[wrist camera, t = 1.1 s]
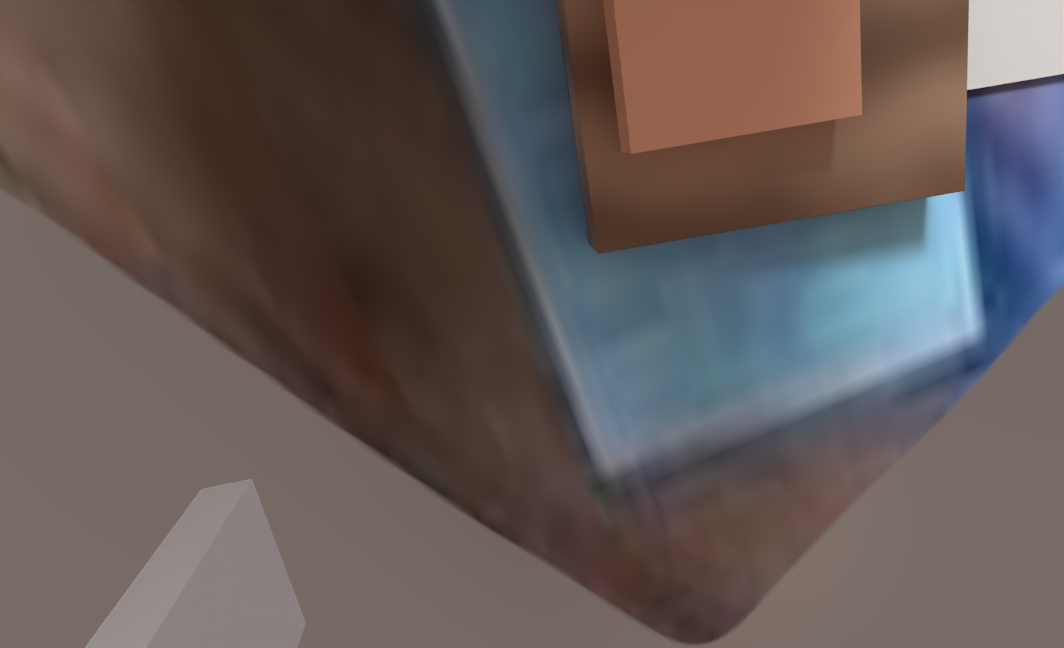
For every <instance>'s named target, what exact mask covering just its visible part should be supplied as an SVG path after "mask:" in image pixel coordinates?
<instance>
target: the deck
mask: <svg viewBox="0 0 1064 648" xmlns="http://www.w3.org/2000/svg"><path fill="white" fill-rule="evenodd" d="M556 4H557V12H558V19H559V26H560V33H561V41H562V48H563V55H564V62H565V70H566V77H567V84H568V91H569V99H570V106H571V113H572V120H573V128H574V135H575V142H576V150H577V157H578V164H579V171H580V179H581V186H582V193H583V200H584V208H585V215H586V222H587V229H588V237H589V244H590V245H591V246H592V247H593V248H594V250H595V251H596V252H597V253H598V254H599V253H605V252H610V251H616V250H622V249H628V248H634V247H639V246H645V245H651V244H657V243H663V242H669V241H674V240H680V239H686V238H692V237H698V236H704V235H709V234H715V233H721V232H727V231H733V230H739V229H744V228H750V227H756V226H762V225H768V224H774V223H779V222H785V221H791V220H797V219H803V218H809V217H814V216H820V215H826V214H832V213H838V212H844V211H849V210H855V209H861V208H867V207H873V206H879V205H884V204H890V203H896V202H902V201H908V200H913V199H919V198H925V197H931V196H937V195H943V194H948V193H954V192H960V191H965V156H966V111H967V67H968V22H969V0H860V33H861V84H862V115H858V116H853V117H847V118H841V119H835V120H829V121H823V122H817V123H811V124H805V125H799V126H794V127H788V128H782V129H776V130H770V131H764V132H758V133H752V134H746V135H740V136H735V137H729V138H723V139H717V140H711V141H705V142H699V143H693V144H687V145H681V146H675V147H670V148H664V149H658V150H652V151H646V152H640V153H634V154H628V153H623V152H621V146H620V138H619V130H618V121H617V113H616V105H615V96H614V88H613V79H612V71H611V63H610V54H609V46H608V38H607V29H606V21H605V12H604V4H603V0H556Z"/></svg>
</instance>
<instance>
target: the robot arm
mask: <svg viewBox="0 0 1064 648" xmlns="http://www.w3.org/2000/svg"><path fill="white" fill-rule="evenodd" d="M305 625H306V623H305V620H304V617H303V614H302V612H301V609H300V607H299V604H298V601H297V598H296V596H295V593H294V590H293V588H292V585H291V583H290V580H289V577H288V574H287V572H286V569H285V566H284V564H283V561H282V558H281V556H280V553H279V550H278V548H277V545H276V542H275V539H274V537H273V534H272V531H271V529H270V526H269V523H268V521H267V518H266V515H265V513H264V510H263V507H262V505H261V502H260V499H259V497H258V494H257V491H256V489H255V486H254V483H253V481H252V479H247V480H242V481H238V482H232V483H227V484H222V485H217V486H212V487H207V488H202V489H201V490H200V491H199V493H198V494H197V496H196V497H195V498H194V500H193V501H192V502H191V504H190V505H189V506H188V508H187V509H186V511H185V512H184V513H183V515H182V516H181V517H180V519H179V520H178V521H177V523H176V524H175V525H174V527H173V528H172V530H171V531H170V532H169V534H168V535H167V537H166V538H165V539H164V540H163V542H162V543H161V545H160V546H159V547H158V549H157V550H156V552H155V553H154V554H153V555H152V557H151V558H150V560H149V561H148V562H147V564H146V565H145V566H144V568H143V569H142V571H141V572H140V573H139V574H138V576H137V577H136V579H135V580H134V581H133V583H132V584H131V586H130V587H129V588H128V590H127V591H126V592H125V593H124V595H123V597H122V598H121V599H120V600H119V602H118V603H117V604H116V606H115V607H114V608H113V610H112V611H111V613H110V614H109V615H108V617H107V618H106V619H105V621H104V622H103V624H102V625H101V626H100V628H99V629H98V630H97V632H96V633H95V634H94V636H93V637H92V638H91V640H90V641H89V642H88V644H87V645H86V647H85V648H298V645H299V642H300V639H301V636H302V634H303V631H304V628H305Z"/></svg>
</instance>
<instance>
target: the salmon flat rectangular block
mask: <svg viewBox="0 0 1064 648" xmlns="http://www.w3.org/2000/svg"><path fill="white" fill-rule="evenodd" d="M603 4H604V12H605V21H606V29H607V38H608V46H609V54H610V63H611V71H612V79H613V88H614V96H615V105H616V113H617V121H618V130H619V138H620V146H621V152H623V153H628V154H634V153H640V152H646V151H652V150H658V149H664V148H670V147H675V146H681V145H687V144H693V143H699V142H705V141H711V140H717V139H723V138H729V137H735V136H740V135H746V134H752V133H758V132H764V131H770V130H776V129H782V128H788V127H794V126H799V125H805V124H811V123H817V122H823V121H829V120H835V119H841V118H847V117H853V116H858V115H862V84H861V33H860V0H603Z"/></svg>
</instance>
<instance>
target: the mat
mask: <svg viewBox="0 0 1064 648" xmlns="http://www.w3.org/2000/svg"><path fill="white" fill-rule="evenodd" d="M1060 74H1064V0H969V22H968V67H967V90H971V89H977V88H983V87H989V86H995V85H1001V84H1007V83H1013V82H1019V81H1025V80H1030V79H1036V78H1042V77H1048V76H1054V75H1060Z"/></svg>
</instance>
